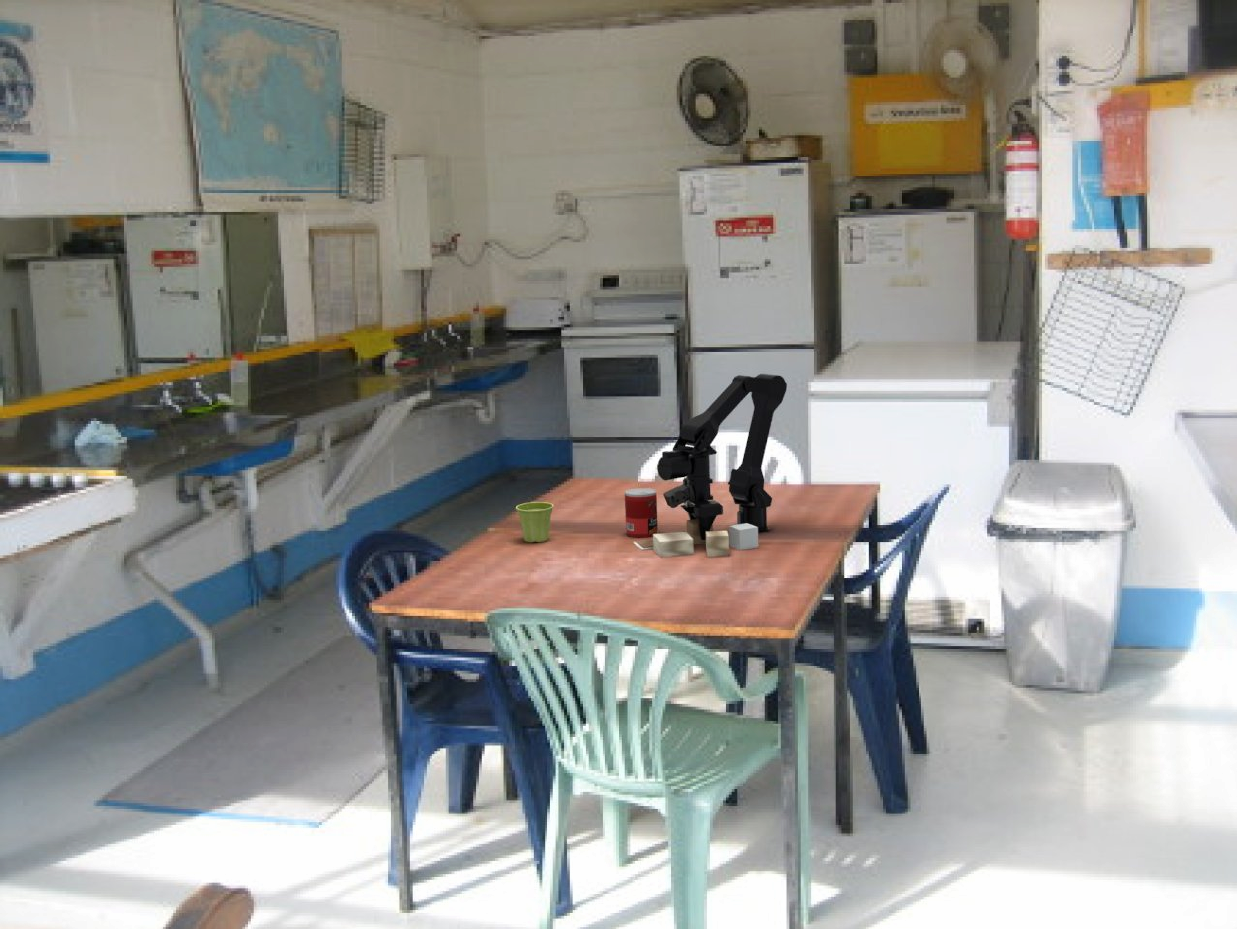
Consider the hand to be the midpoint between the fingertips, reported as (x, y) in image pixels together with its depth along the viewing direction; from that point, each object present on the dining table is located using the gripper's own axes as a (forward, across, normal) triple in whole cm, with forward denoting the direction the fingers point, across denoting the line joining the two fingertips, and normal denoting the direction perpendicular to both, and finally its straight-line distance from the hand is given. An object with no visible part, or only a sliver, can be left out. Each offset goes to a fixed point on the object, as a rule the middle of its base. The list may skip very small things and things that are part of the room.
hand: (699, 537), depth 323 cm
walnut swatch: (+1, -1, -12) cm, 12 cm away
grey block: (+1, +9, +8) cm, 12 cm away
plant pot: (+1, -18, -37) cm, 41 cm away
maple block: (+1, +13, 0) cm, 13 cm away
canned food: (+1, -13, -11) cm, 17 cm away
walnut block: (+1, 0, 0) cm, 1 cm away
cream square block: (+1, +7, -9) cm, 11 cm away
